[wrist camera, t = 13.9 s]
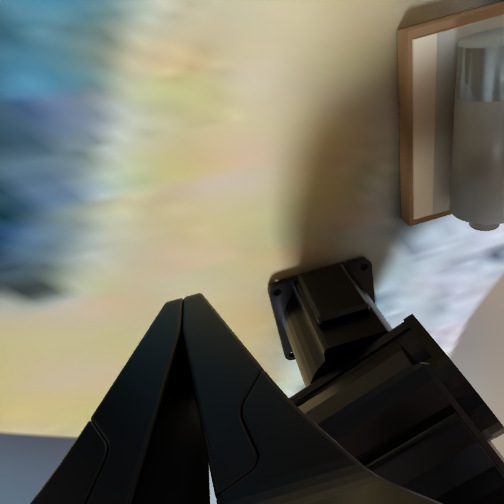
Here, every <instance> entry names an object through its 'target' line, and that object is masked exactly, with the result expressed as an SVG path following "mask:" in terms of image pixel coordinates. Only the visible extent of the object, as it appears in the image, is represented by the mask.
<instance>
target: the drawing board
mask: <svg viewBox="0 0 504 504" xmlns="http://www.w3.org/2000/svg"><path fill="white" fill-rule="evenodd" d="M503 27H504V1H501V2H498V3H494V4H491V5H487V6H483V7H480V8H476V9H472V10H469V11H465V12H461V13H458V14H454V15H450V16H447V17H443V18H439V19H436V20H432V21H428V22H425V23H421V24H418V25H414V26H410V27H407V28H403V29H399V30H397V55H398V98H399V141H400V183H401V219H402V220H404V221H405V222H406V223H407V224H408V225H409V226H412V225H415V224H419V223H422V222H426V221H429V220H432V219H436V218H439V217H443V216H446V215H450V214H452V213H451V212H450V210H449V203H450V183H451V164H452V144H453V124H454V104H455V85H456V65H457V45H458V41H459V40H460V39H462V38H464V37H466V36H469V35H472V34H475V33H479V32H483V31H487V30H492V29H497V28H503Z"/></svg>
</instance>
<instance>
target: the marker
mask: <svg viewBox="0 0 504 504" xmlns="http://www.w3.org/2000/svg"><path fill="white" fill-rule="evenodd" d="M449 210H450V212H451V213H452V214H453V215H454V216H455V217H457V218H459V219H461V220H463V221H466V222H469V225H470V227H472V228H473V229H476V230H480V231H490V230H494V229H496V228H498V227H499V224H501V223H504V27H503V28H497V29H492V30H487V31H483V32H479V33H475V34H472V35H469V36H466V37H464V38H462V39H460V40H459V41H458V45H457V65H456V85H455V104H454V124H453V144H452V164H451V183H450V203H449Z"/></svg>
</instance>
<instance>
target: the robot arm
mask: <svg viewBox="0 0 504 504" xmlns="http://www.w3.org/2000/svg"><path fill="white" fill-rule="evenodd" d="M362 264H365V265H364V266H363V267H360V266H361V265H362ZM276 289H279V291H277V292H273V291H274V290H276ZM268 294H269V297H270V301H271V305H272V309H273V313H274V317H275V321H276V325H277V328H278V332H279V336H280V340H281V344H282V348H283V352H284V355H285V357H286V359H288V360H294V359H296V361H297V364H298V367H299V370H300V372H301V375H302V378H303V381H304V383H305V386H306V387H305V388H304V389H302V390H301V391H299V392H298V393H296V394H295V395H293V396H292V397H290V398H288V397H287V396H286V395H285V394H284V393H283V391H282V390H281V389H280V388H279V387H278V386H277V385H276V384H275V382H274V381H273V380H272V379H271V378H270V376H269V375H268V374H267V373H266V372H265V371H264V369H263V368H262V367H261V366H260V364H259V363H258V362H257V361H256V359H255V358H254V357H253V356H252V355H251V353H250V352H249V351H248V350H247V348H246V347H245V346H244V345H243V344H242V342H241V341H240V340H239V339H238V337H237V336H236V335H235V334H234V332H233V331H232V330H231V329H230V328H229V326H228V325H227V324H226V323H225V321H224V320H223V319H222V318H221V317H220V315H219V314H218V313H217V312H216V310H215V309H214V308H213V307H212V306H211V304H210V303H209V302H208V301H207V299H206V298H205V297H204V296H203V295H202V294H201V293H198V294H194V295H191V296H187V297H185V298H184V299H182V298H180V299H176V300H173V301H169V302H167V303H165V305H164V306H163V308H162V309H161V311H160V312H159V314H158V315H157V317H156V318H155V320H154V321H153V323H152V325H151V326H150V328H149V329H148V331H147V332H146V334H145V335H144V337H143V338H142V340H141V341H140V343H139V345H138V346H137V348H136V349H135V351H134V352H133V354H132V355H131V357H130V358H129V360H128V362H127V363H126V365H125V366H124V368H123V369H122V371H121V372H120V374H119V375H118V377H117V379H116V380H115V382H114V383H113V385H112V386H111V388H110V389H109V391H108V392H107V394H106V395H105V397H104V399H103V400H102V402H101V403H100V405H99V406H98V408H97V409H96V411H95V412H94V414H93V416H92V417H91V421H89V422H88V423H87V425H86V426H85V428H84V429H83V431H82V432H81V434H80V435H79V437H78V438H77V440H76V441H75V443H74V444H73V446H72V447H71V449H70V450H69V452H68V453H67V455H66V456H65V457H64V459H63V461H62V462H61V463H60V465H59V466H58V467H57V469H56V470H55V471H54V473H53V474H52V475H51V477H50V478H49V480H48V481H47V482H46V484H45V485H44V486H43V488H42V489H41V490H40V492H39V493H38V494H37V496H36V497H35V498H34V500H33V501H32V502H31V503H30V504H210V490H209V467H210V472H211V477H212V482H213V487H214V492H215V496H216V499H217V504H504V458H503V456H502V455H501V454H500V453H499V451H498V450H497V449H496V447H495V446H494V445H493V443H492V442H491V440H493V439H494V438H497V437H498V436H500V435H502V434H504V427H503V425H502V424H501V423H500V421H499V420H498V419H497V417H496V416H495V415H494V414H493V412H492V411H491V410H490V408H489V407H488V406H487V405H486V403H485V402H484V401H483V400H482V398H481V397H480V396H479V394H478V393H477V392H476V391H475V389H474V388H473V387H472V386H471V384H470V383H469V382H468V381H467V379H466V378H465V377H464V376H463V375H462V373H461V372H460V371H459V370H458V368H457V367H456V366H455V365H454V363H453V362H452V361H451V360H450V358H449V357H448V356H447V355H446V354H445V352H444V351H443V350H442V349H441V348H440V346H439V345H438V344H437V343H436V342H435V340H434V339H433V338H432V337H431V336H430V334H429V333H428V332H427V331H426V330H425V328H424V327H423V326H422V325H421V324H420V322H419V321H418V320H417V319H416V318H415V316H414V315H413V314H411V315H409V316H408V317H407V318H405V319H404V322H403V323H401V324H400V325H398V326H397V327H395V328H394V329H392V328H391V326H390V325H389V323H388V322H387V321H386V319H385V318H384V316H383V315H382V314H381V312H380V311H379V309H378V308H377V306H376V305H375V302H374V288H373V275H372V264H371V262H370V261H369V259H368V258H366V257H359V258H356V259H352V260H349V261H346V262H342V263H339V264H334V265H331V266H328V267H324V268H321V269H317V270H314V271H310V272H307V273H304V274H301V275H298V276H294V277H291V278H287V279H284V280H280V281H277V282H274V283H272V284H270V285H269V287H268ZM291 352H293V353H291Z"/></svg>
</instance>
